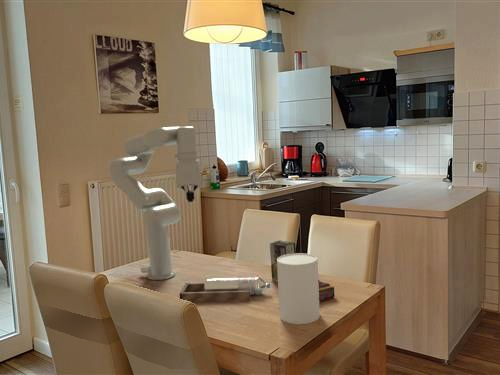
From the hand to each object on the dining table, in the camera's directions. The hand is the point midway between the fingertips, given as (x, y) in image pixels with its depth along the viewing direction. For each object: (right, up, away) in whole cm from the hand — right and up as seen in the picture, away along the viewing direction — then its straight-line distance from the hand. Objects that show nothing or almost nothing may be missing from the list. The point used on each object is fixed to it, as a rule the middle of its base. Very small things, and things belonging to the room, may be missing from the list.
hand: (190, 201), depth 204 cm
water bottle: (+7, -33, -12) cm, 36 cm away
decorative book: (+48, -36, -17) cm, 62 cm away
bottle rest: (+12, -36, -12) cm, 40 cm away
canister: (+41, -38, -36) cm, 67 cm away
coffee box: (+39, -33, +2) cm, 51 cm away
